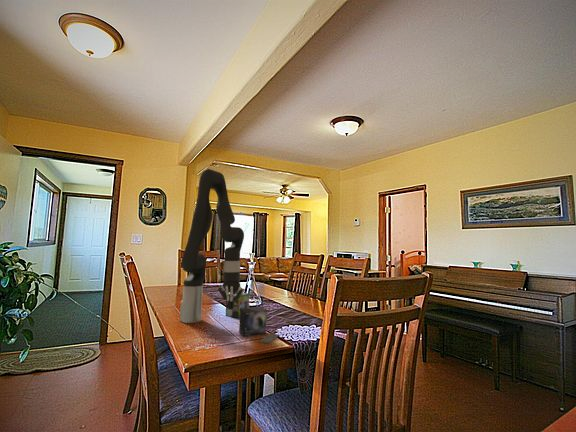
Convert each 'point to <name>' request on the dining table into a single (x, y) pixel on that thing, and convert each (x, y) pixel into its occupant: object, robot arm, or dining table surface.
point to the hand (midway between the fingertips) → (230, 309)
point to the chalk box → (238, 305)
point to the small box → (252, 321)
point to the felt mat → (269, 338)
